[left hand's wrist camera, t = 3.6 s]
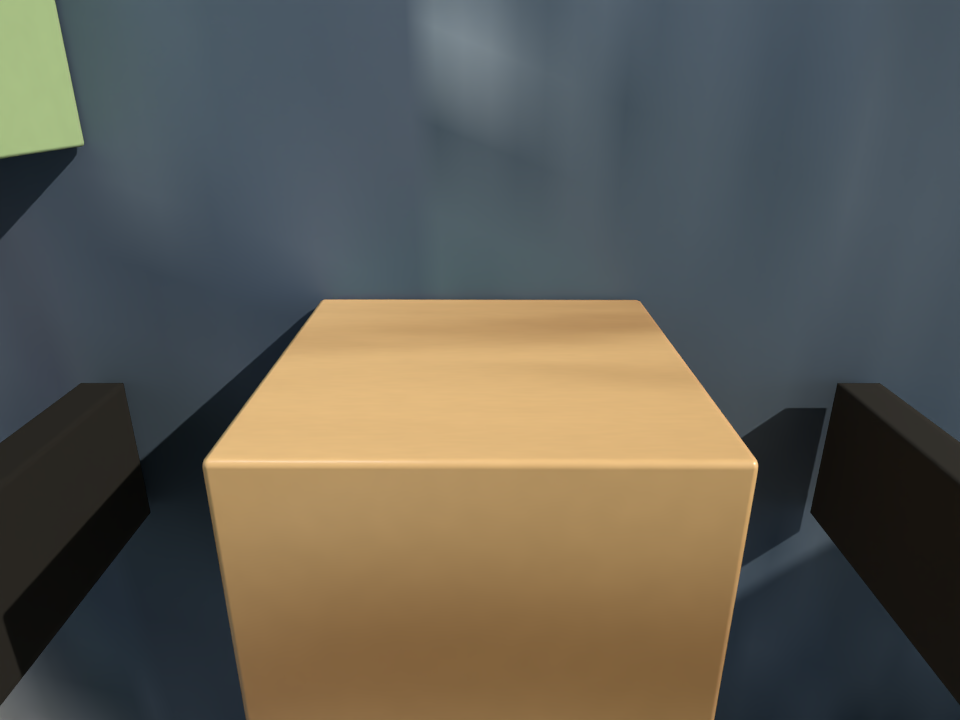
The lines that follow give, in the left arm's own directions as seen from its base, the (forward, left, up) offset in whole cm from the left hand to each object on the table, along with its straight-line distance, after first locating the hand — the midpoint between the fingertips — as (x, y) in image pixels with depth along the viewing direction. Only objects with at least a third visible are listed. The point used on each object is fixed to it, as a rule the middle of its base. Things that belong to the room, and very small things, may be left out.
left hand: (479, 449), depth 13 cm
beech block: (0, 0, 0) cm, 0 cm away
